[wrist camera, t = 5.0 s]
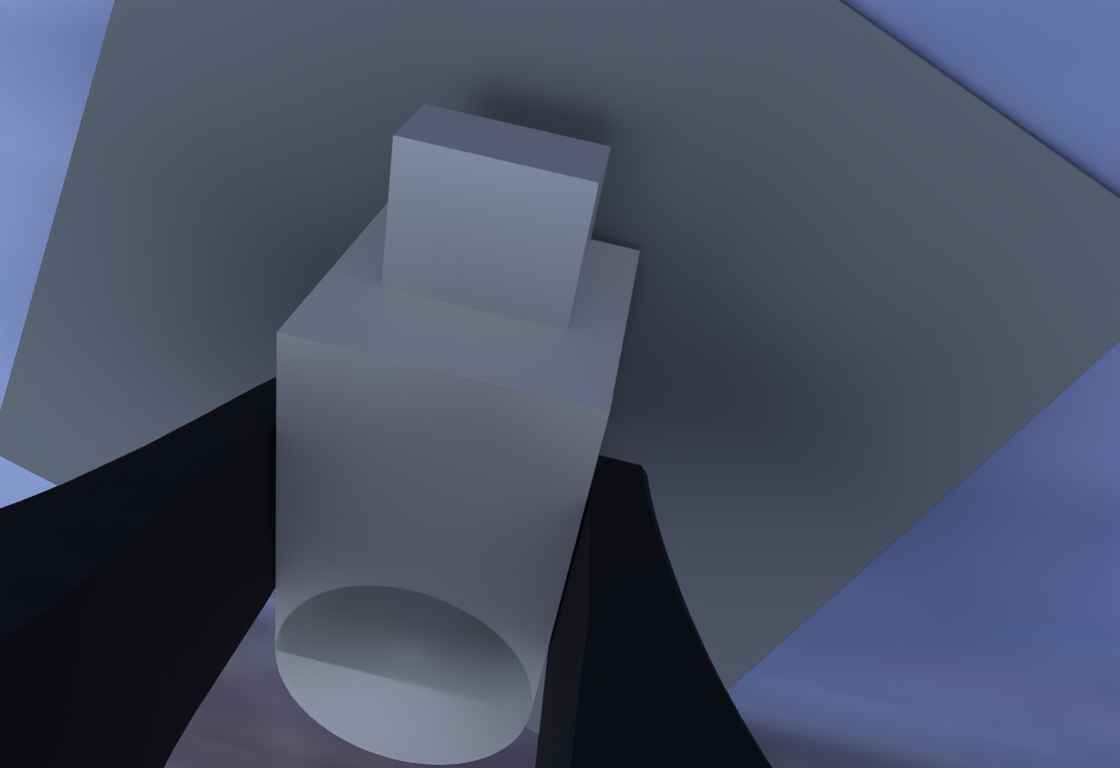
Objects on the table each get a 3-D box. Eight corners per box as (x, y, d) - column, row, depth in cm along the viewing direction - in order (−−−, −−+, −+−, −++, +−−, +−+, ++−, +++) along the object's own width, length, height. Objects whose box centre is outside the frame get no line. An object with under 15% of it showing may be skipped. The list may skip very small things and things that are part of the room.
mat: (628, 755, 19) (626, 779, 19) (10, 432, 17) (-11, 450, 17) (1188, 244, 12) (1208, 261, 12) (258, -412, 10) (233, -427, 10)
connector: (554, 586, 16) (510, 788, 13) (366, 540, 16) (275, 729, 13) (672, 123, 11) (651, 253, 8) (406, 63, 12) (278, 166, 8)
